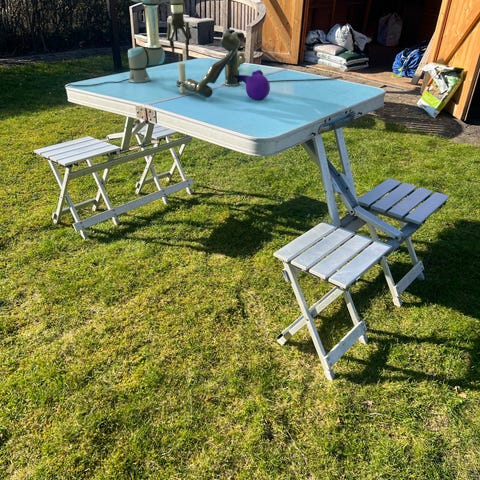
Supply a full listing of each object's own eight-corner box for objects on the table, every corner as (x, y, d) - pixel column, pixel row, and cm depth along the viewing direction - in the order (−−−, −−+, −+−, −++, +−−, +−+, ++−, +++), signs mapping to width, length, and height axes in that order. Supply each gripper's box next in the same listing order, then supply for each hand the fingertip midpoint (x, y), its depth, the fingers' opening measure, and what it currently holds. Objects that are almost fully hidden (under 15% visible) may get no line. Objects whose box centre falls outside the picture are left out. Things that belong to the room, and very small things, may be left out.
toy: (254, 92, 298) (269, 106, 277) (229, 87, 290) (243, 101, 270) (261, 68, 290) (277, 80, 269) (236, 62, 282) (250, 75, 262)
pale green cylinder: (187, 91, 305) (185, 63, 296) (185, 92, 302) (183, 64, 293) (181, 91, 306) (179, 63, 297) (179, 92, 303) (177, 64, 293)
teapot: (225, 72, 363) (224, 52, 355) (218, 70, 371) (218, 50, 364) (248, 69, 372) (247, 50, 364) (241, 67, 381) (240, 48, 373)
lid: (186, 66, 297) (185, 62, 296) (183, 67, 293) (183, 64, 292) (179, 66, 298) (178, 62, 297) (176, 67, 294) (176, 64, 293)
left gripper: (191, 11, 287) (193, 49, 298) (158, 13, 278) (162, 52, 290) (195, 12, 281) (197, 50, 292) (162, 13, 272) (166, 53, 284)
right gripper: (201, 78, 292) (189, 74, 304) (181, 81, 285) (170, 77, 298) (202, 90, 295) (190, 86, 308) (182, 93, 289) (171, 88, 301)
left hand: (180, 51), depth 291 cm, fingers open, 9 cm apart
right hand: (180, 81), depth 303 cm, fingers closed on pale green cylinder, 4 cm apart
